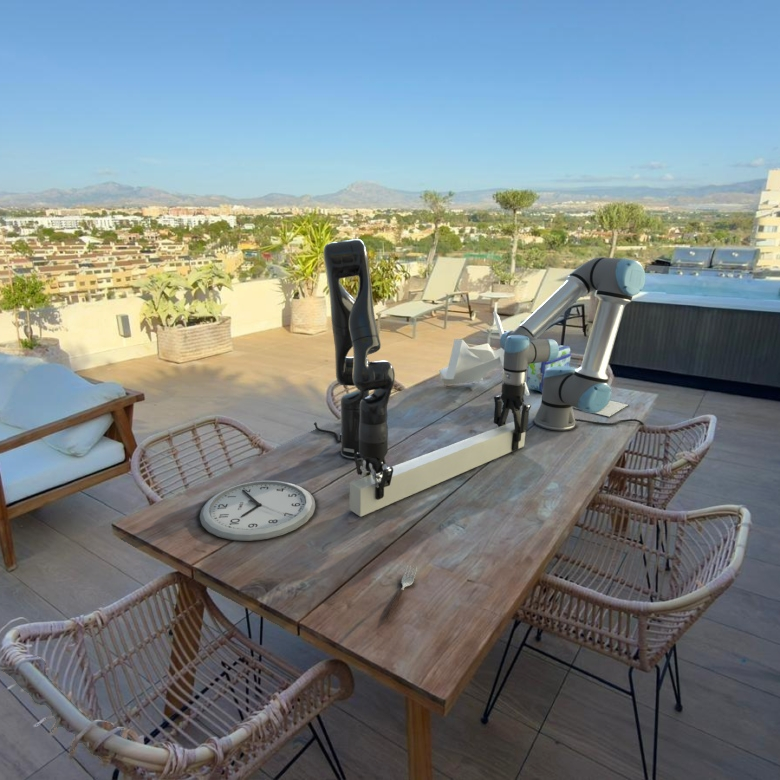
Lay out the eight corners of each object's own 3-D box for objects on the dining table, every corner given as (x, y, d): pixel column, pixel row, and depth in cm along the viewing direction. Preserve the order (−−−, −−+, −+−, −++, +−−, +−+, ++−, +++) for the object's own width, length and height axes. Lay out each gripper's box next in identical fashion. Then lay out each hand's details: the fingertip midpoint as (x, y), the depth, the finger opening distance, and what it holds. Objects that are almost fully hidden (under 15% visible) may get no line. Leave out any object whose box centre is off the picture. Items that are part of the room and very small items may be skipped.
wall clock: (312, 532, 127) (184, 536, 124) (312, 538, 127) (185, 542, 125) (317, 476, 155) (214, 478, 153) (318, 481, 156) (214, 483, 153)
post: (513, 442, 186) (515, 420, 183) (524, 446, 182) (526, 424, 180) (349, 509, 140) (349, 482, 138) (360, 516, 137) (360, 489, 134)
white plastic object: (461, 429, 252) (437, 405, 227) (444, 352, 274) (420, 323, 250) (535, 404, 240) (518, 377, 215) (510, 326, 262) (492, 293, 237)
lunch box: (542, 396, 239) (547, 351, 232) (522, 391, 246) (526, 347, 240) (570, 385, 256) (575, 343, 250) (550, 380, 263) (554, 339, 257)
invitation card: (608, 416, 214) (573, 407, 224) (608, 416, 214) (573, 408, 224) (628, 404, 229) (594, 396, 238) (628, 405, 229) (594, 397, 238)
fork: (380, 619, 101) (380, 610, 101) (406, 571, 116) (406, 563, 115) (393, 622, 101) (393, 614, 100) (417, 574, 115) (417, 566, 114)
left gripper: (345, 431, 139) (346, 489, 144) (380, 448, 128) (379, 510, 134) (367, 425, 143) (367, 480, 149) (402, 441, 133) (401, 500, 138)
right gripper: (485, 378, 177) (481, 442, 184) (529, 390, 164) (523, 458, 171) (499, 374, 182) (494, 436, 189) (543, 386, 169) (536, 452, 176)
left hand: (373, 494), depth 141 cm, fingers closed on post, 4 cm apart
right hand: (508, 446), depth 180 cm, fingers closed on post, 5 cm apart
